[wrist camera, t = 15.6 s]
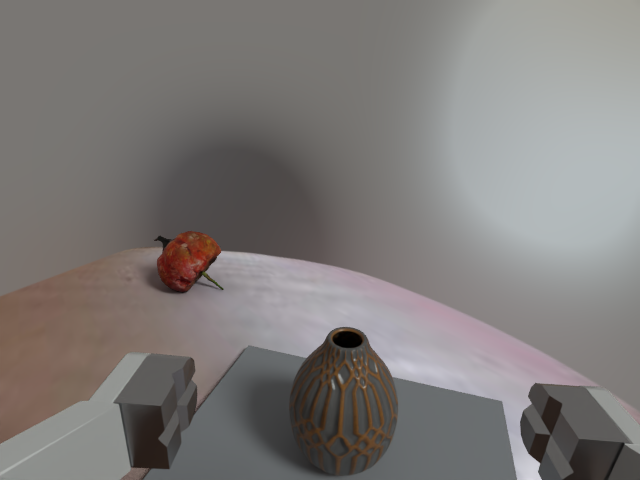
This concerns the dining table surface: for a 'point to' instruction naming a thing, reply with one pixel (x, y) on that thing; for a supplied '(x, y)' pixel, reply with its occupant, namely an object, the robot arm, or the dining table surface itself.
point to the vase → (343, 404)
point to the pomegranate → (186, 259)
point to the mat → (290, 463)
